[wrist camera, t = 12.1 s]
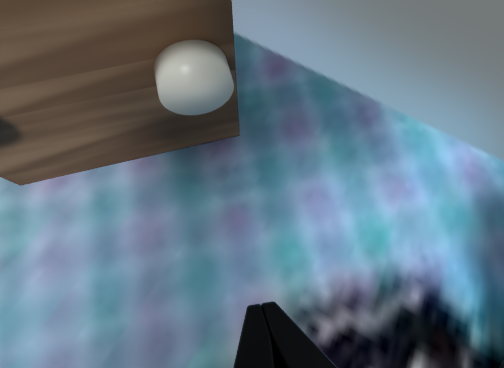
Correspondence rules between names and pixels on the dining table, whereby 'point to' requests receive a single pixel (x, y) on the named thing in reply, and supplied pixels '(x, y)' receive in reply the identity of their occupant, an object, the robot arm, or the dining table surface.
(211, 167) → the dining table surface
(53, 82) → the knob mount
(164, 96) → the knob
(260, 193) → the dining table surface
